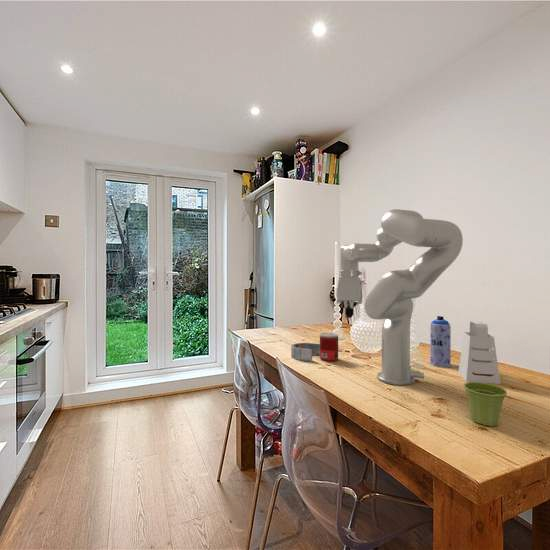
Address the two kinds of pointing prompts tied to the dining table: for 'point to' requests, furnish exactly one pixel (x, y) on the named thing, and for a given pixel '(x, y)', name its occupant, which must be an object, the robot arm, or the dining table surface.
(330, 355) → the canned food
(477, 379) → the grater
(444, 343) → the aerosol can
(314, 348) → the duct collar
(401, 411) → the dining table surface
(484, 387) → the plant pot
